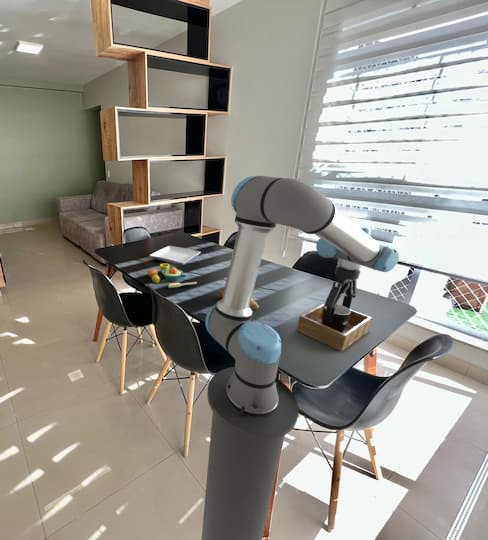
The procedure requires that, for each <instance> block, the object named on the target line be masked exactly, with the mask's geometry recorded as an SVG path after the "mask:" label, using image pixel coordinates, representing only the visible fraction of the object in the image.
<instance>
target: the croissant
mask: <svg viewBox="0 0 488 540" xmlns="http://www.w3.org/2000/svg"><path fill="white" fill-rule="evenodd" d="M223 293H224V290H219V291H218V294H219V296H220V297H221V299H222V298H223ZM249 307H250V308H251V310H258V309H259V305H258V303H257V302H256V301H255V300H253V297H251V301H250V305H249Z"/></svg>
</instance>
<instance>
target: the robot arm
mask: <svg viewBox="0 0 488 540" xmlns="http://www.w3.org/2000/svg"><path fill="white" fill-rule="evenodd" d="M230 200H231V207H232V209H233V211H234V212H235V216H234V217H235V218H234V223H235V224H236V226H237V232H236V237H235V241H234V246H233V250H232V254H231V259H230V263H229V268H228V271H227V276H226V281H225V285H224V290H223V291H224V293H223V298H222V297H221V299H220V300H218V301H216V303H215V305H213V306H212V307H211V310H208V312H207V314H206V316H205V322H204V323H205V328H206V331H207V332H208V334H209V335H210V337H211V338H212V339H213V340H215V341H216V342H217V343H218V344H219V345H220V346H221V347H222V348H223V349H224V350H225V351H226V352H227V353H228V354H229V355H230V356H231V357H233V359H234V360H235V361H234V367H235V370H234V372H233V374H232V376H231V377H230V379H229V381H228V383H227V386H226V395H227V398H228V400H229V402H230V403H231V404H232V405H233V406H234V407H235V408H236V409H238V410H239V411H240V413H239V414H240V415H243V413H245V414H248V415H251V416H267V415H270V414H271V413H273V412H274V411H275V410H276V408H277V405H278V393H277V389H276V384H275V379H276V378H277V374H278V368H279V364H280V359H281V356H282V339H281V336H280V335H279V333H278V332H277V331H276V330H275V329H274V328H272V327H271V326H269V325H267V324H265V323H263V324H262V323H261V322H258V321H251V320H252V317H253V313H254V312H253V309H251V308H250V307H249V305H250V301H251V298H253V293H254V289H255V285H256V281H257V278H258V274H259V270H260V266H261V262H262V258H263V256H264V255H263V254H264V251H265V248H266V244H267V238H268V236H269V234H270V233H271V232H272V231H274V230H275V229H276V228H277V225H281V226H286V227H289V228H293V229H297V230H299V231H301V232H303V233H304V234H307V235H315V236H316V237H318V238H319V239H318V240H317V242H316V246H315V248H316V249H315V250H316V251H317V254H318V255H319V256H320V257H321V258H325V259H326V258H330V259H331V258H338V260H337V265H336V268H335V272H334V274H335V276H336V277H338V279H337V281H333V283H332V286H331V289H330V291H329V292H328V293H329V294H328V296H327V297H326V300H325V302H324V303H325V304H324V303H323V304H324V306H326V307H327V308H326V312H325V317H324V321H326V322H329V323H332V320H333V316H334V312H335V308H334V307H335V305H336V304H337V303H338V302H339V300H340V298H341V297H342V295H343V294H345V295H344V296H343V300H342V304H341V305H342V306H344V307H346V308H348V309H351V305H352V302H353V299H355V298H357V295H356V294H357V285H358V284H357V280H358V279H359V277H360V275H361V269H362V267H366V268H368V269H372V270H373V271H378V272H381V273H388V272H391V271H392V270H393V269H394V268H395V267H396V266H397V264H398V262H399V260H400V252H399V250H398V249H397V248H394V247H391V246H389V245H383V244H380V243H379V242H378V241H377V240H375V239H374V238H372V237H371V234H372V233H371V232H372V229H371V228H370V227H369V226H367V225H363V224H355V223H353V222H352V221H350V220H349V219H348V218H346V217H345V216H344V215H342V214H341V213H339V211H337V207H336V205H335V203H334V202H333V201H331V200H330V199H329V198H328V197H326V196H325V195H324V194H323V193H321V192H319V191H318V190H317V189H315V188H313V187H312V186H311V185H309V184H306V183H305V182H303V181H300V180H298V179H295V178H289V177H276V176H267V175H251V176H248V177H245V178H244V179H242V180H241V181H240V182H239V183H238V184H237V185H236V186H235V188H234V189H233V191H232V195H231V199H230ZM276 383H277V382H276Z"/></svg>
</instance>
